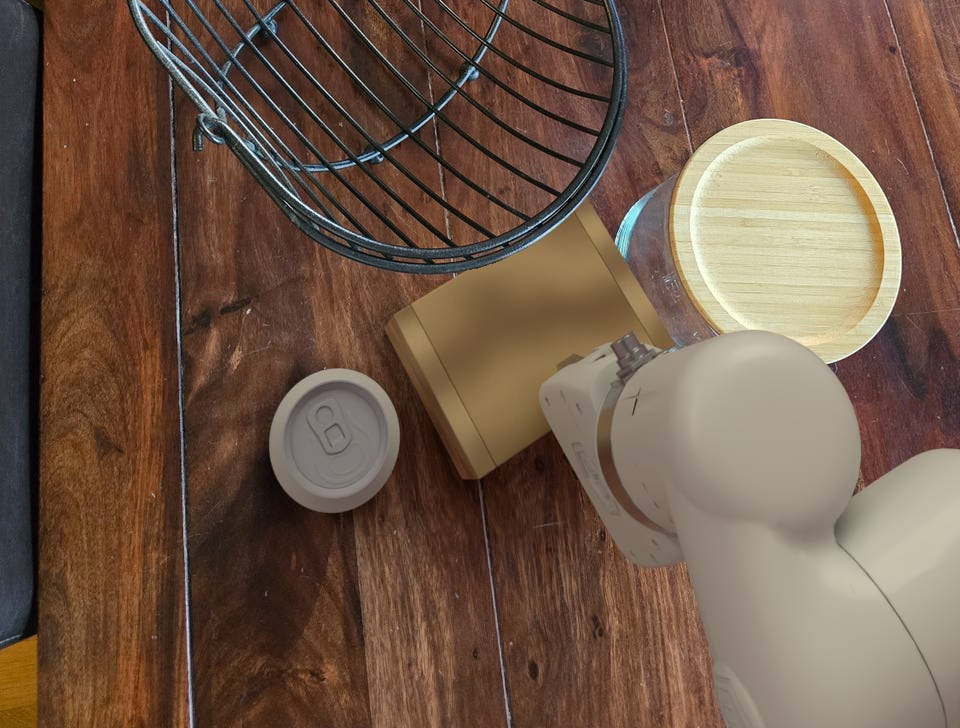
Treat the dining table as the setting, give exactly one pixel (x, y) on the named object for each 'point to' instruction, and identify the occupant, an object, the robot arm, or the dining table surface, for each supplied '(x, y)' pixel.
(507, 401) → the gold flanged block
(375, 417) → the beverage can
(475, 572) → the dining table surface
